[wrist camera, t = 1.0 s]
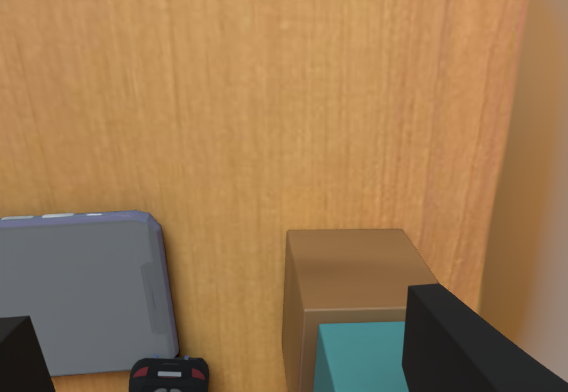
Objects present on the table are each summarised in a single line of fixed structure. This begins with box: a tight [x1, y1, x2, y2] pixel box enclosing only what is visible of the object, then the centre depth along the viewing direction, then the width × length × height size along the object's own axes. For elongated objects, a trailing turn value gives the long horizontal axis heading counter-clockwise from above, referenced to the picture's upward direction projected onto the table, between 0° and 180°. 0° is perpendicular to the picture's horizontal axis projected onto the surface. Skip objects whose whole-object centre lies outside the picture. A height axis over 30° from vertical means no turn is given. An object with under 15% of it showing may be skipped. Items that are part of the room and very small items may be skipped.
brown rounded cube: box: [282, 229, 440, 392], centre depth 19 cm, size 6×5×6 cm
